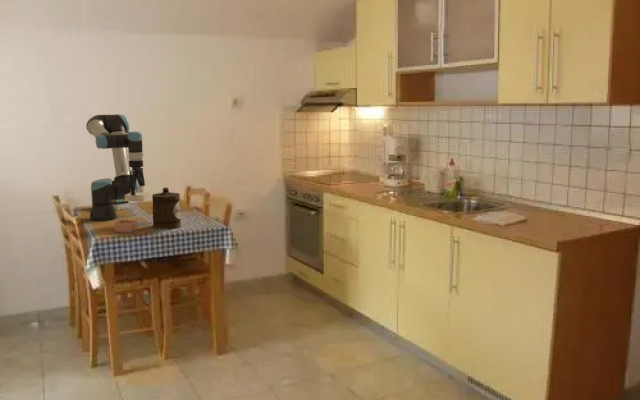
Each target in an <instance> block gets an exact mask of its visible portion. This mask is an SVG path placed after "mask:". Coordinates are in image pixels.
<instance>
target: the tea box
mask: <svg viewBox="0 0 640 400" xmlns="http://www.w3.org/2000/svg"><path fill="white" fill-rule="evenodd" d="M129 202H130V201H125V199H122V200H113V206H114V209H115V211H121V210H125V209H129V208H130V203H129ZM120 209H121V210H120Z"/></svg>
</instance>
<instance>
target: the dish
mask: <svg viewBox="0 0 640 400" xmlns="http://www.w3.org/2000/svg"><path fill="white" fill-rule="evenodd" d="M137 222H138V220H134V219H133V220H132V219H131V220H128V219H121V220H118V221H117V222H115V223H114V234H115V233H116V234H133V232H135V231H136V230H138V228H139V227H138V224H137Z"/></svg>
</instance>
